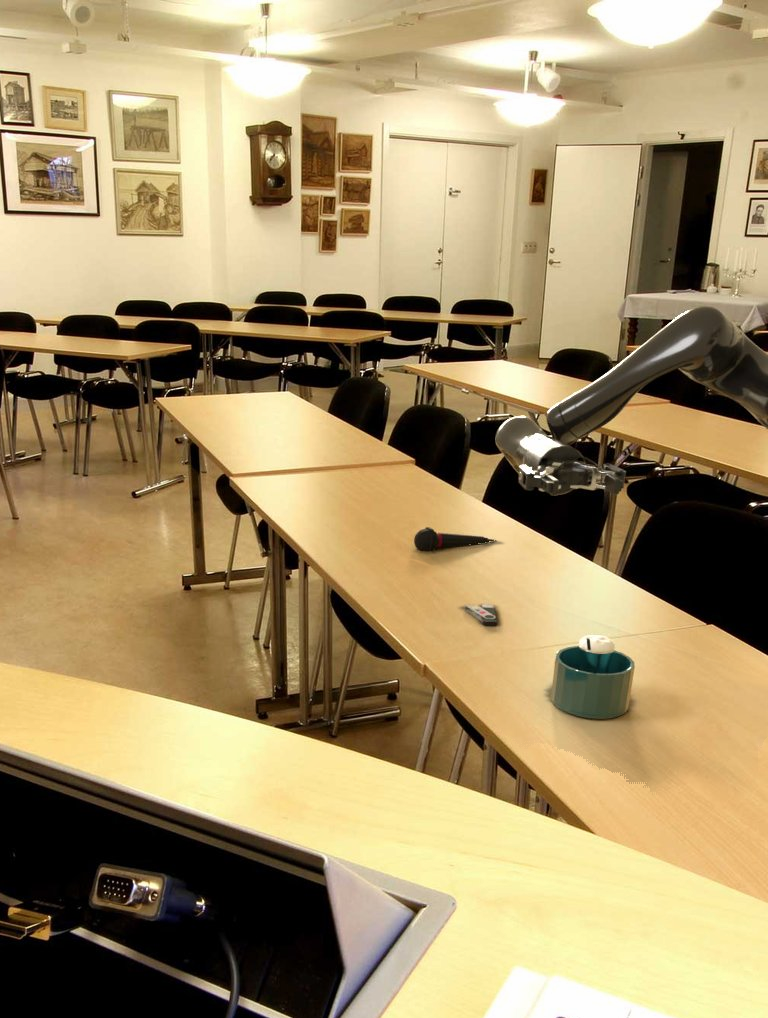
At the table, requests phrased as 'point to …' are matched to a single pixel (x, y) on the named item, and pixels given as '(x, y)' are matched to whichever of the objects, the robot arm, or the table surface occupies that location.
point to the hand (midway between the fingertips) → (586, 488)
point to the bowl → (592, 686)
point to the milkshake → (595, 654)
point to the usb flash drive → (483, 613)
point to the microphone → (444, 540)
